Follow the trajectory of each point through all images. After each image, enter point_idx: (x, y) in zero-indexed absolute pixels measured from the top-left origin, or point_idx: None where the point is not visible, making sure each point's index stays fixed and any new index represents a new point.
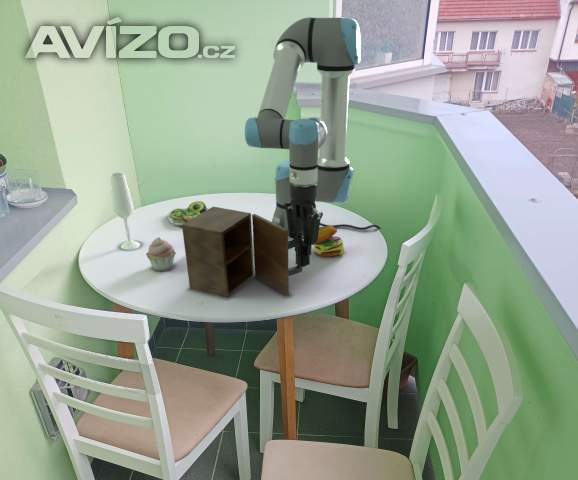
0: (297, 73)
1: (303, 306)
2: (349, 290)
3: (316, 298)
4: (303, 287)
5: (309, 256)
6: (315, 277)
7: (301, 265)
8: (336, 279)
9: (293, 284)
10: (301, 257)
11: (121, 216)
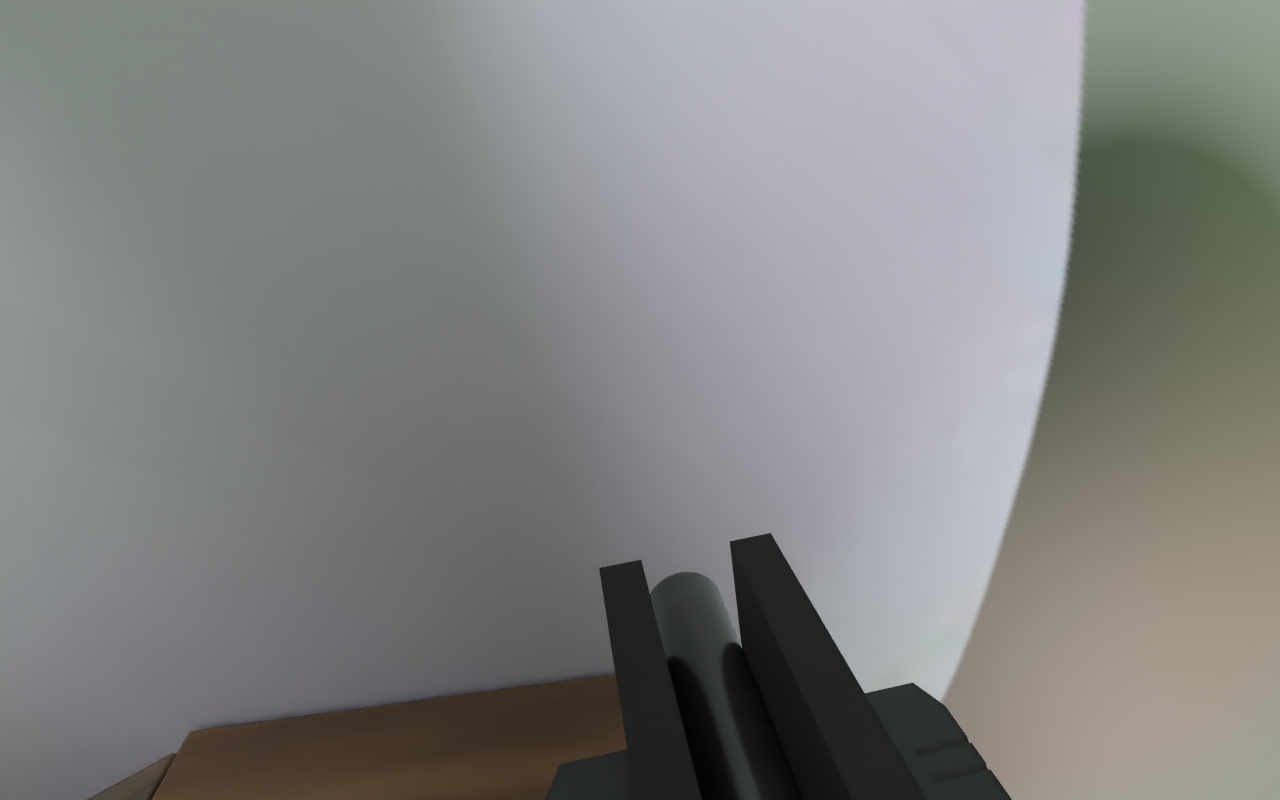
0: None
1: (961, 639)
2: (1076, 83)
3: (942, 483)
4: (687, 469)
5: (820, 625)
6: (563, 216)
7: (750, 668)
8: (772, 13)
9: (568, 519)
10: (794, 779)
11: None
